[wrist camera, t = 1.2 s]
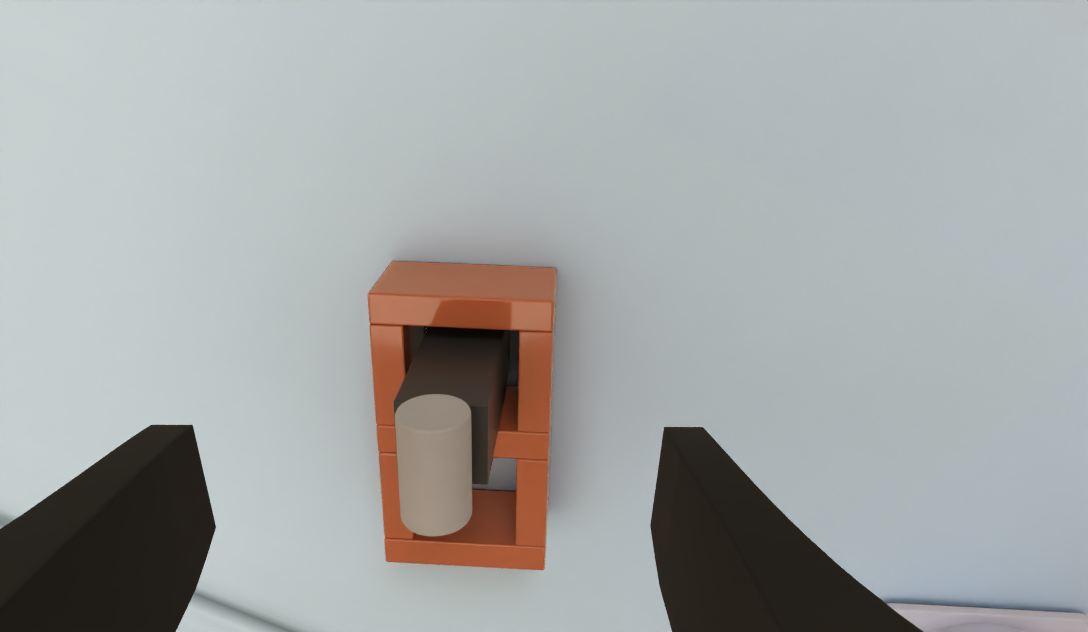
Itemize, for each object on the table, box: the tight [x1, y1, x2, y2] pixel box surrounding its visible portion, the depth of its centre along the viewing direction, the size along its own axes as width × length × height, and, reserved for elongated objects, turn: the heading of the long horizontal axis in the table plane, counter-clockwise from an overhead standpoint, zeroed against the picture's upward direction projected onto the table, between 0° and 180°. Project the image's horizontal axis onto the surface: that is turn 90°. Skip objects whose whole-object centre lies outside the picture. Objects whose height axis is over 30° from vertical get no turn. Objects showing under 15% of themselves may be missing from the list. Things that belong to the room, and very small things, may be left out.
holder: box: [368, 261, 557, 570], centre depth 24 cm, size 10×5×3 cm, turn 178°
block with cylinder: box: [393, 327, 510, 536], centre depth 21 cm, size 3×2×8 cm
